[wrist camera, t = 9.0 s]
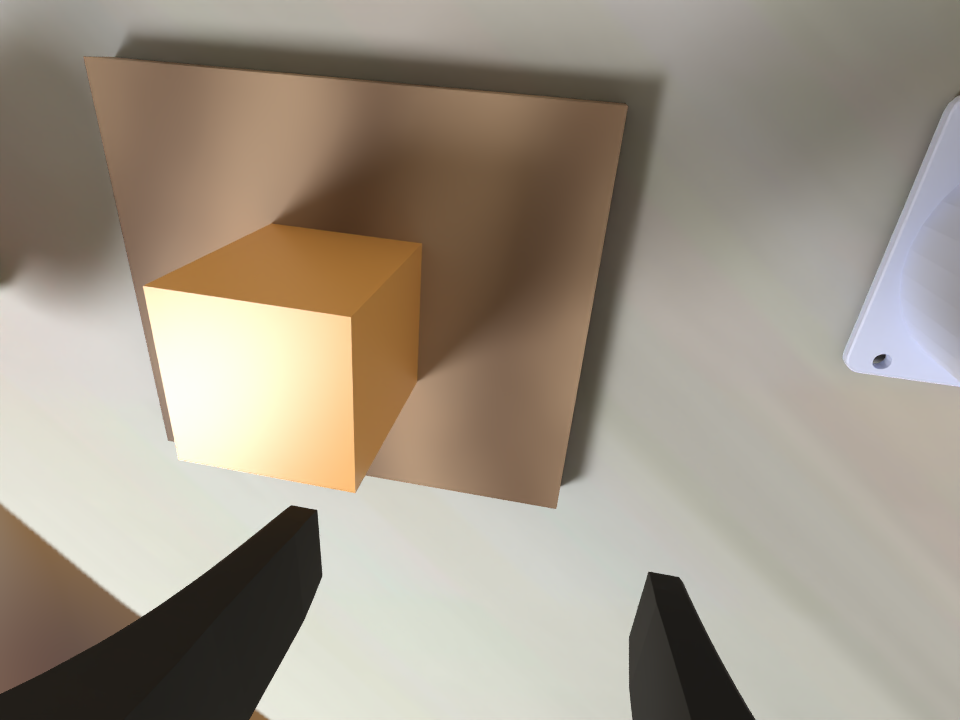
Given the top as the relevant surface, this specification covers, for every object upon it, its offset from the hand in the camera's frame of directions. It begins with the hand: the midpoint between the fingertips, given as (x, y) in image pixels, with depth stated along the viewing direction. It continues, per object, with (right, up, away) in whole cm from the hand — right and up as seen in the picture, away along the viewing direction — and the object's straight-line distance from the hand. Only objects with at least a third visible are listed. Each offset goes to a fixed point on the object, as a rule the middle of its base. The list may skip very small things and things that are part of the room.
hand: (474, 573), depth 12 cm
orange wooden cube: (-4, +6, +7) cm, 10 cm away
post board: (-4, +7, +8) cm, 11 cm away
